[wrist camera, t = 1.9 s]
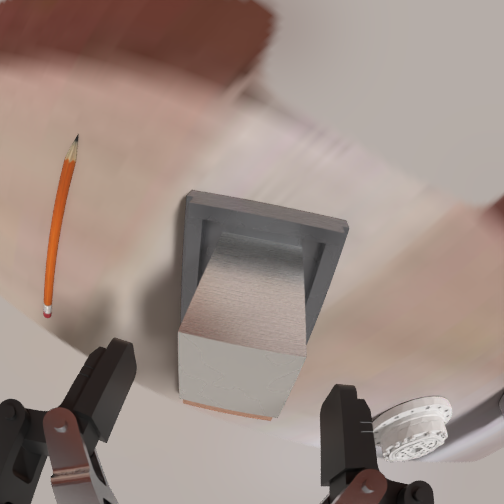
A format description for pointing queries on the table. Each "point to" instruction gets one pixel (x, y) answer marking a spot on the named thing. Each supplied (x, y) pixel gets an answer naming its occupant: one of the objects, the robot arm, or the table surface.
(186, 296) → the double frame tray
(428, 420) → the mechanical component
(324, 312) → the table surface
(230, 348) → the block
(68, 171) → the pencil
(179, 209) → the table surface
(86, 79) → the table surface
